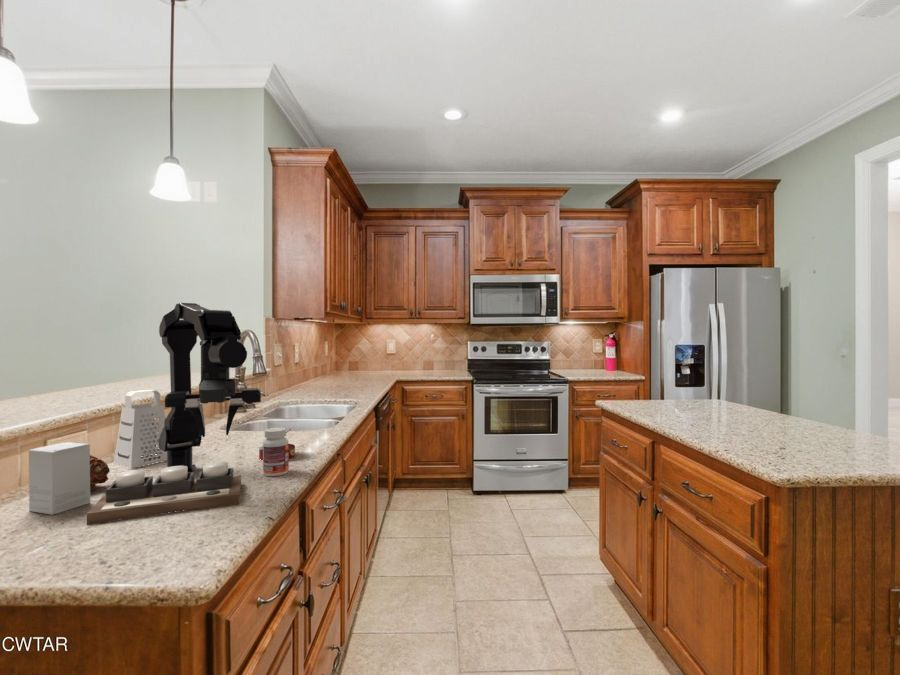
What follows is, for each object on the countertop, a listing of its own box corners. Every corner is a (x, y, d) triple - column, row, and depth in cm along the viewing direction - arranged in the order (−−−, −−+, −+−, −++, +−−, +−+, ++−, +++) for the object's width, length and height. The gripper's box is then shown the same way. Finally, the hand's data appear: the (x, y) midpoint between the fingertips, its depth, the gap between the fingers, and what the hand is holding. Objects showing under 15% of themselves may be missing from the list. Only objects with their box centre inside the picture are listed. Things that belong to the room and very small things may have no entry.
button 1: (119, 482, 97) (119, 471, 97) (147, 479, 99) (146, 468, 99) (112, 489, 93) (112, 478, 93) (141, 486, 95) (141, 475, 95)
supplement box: (91, 503, 97) (91, 443, 97) (51, 516, 90) (51, 451, 90) (68, 499, 99) (68, 441, 99) (27, 511, 92) (27, 449, 92)
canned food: (279, 478, 129) (266, 451, 124) (257, 468, 134) (244, 442, 130) (308, 452, 137) (298, 425, 133) (286, 444, 142) (275, 418, 138)
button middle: (163, 478, 100) (163, 467, 100) (189, 475, 102) (189, 464, 102) (158, 484, 96) (158, 473, 96) (185, 481, 98) (185, 470, 98)
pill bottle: (291, 474, 117) (291, 430, 117) (265, 478, 113) (265, 432, 113) (285, 468, 122) (285, 426, 122) (260, 472, 118) (260, 428, 118)
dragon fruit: (112, 495, 106) (51, 508, 103) (121, 466, 112) (64, 477, 109) (97, 472, 101) (32, 485, 98) (107, 443, 107) (46, 454, 104)
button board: (108, 499, 99) (108, 479, 99) (240, 484, 109) (240, 465, 109) (86, 524, 86) (86, 500, 86) (238, 503, 96) (238, 482, 96)
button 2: (204, 473, 104) (204, 463, 104) (228, 471, 106) (228, 460, 106) (201, 480, 99) (201, 468, 99) (227, 477, 101) (227, 466, 101)
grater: (172, 460, 131) (172, 390, 131) (131, 469, 122) (130, 394, 122) (154, 455, 136) (153, 388, 136) (113, 463, 127) (113, 391, 127)
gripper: (159, 369, 91) (160, 447, 91) (260, 366, 98) (261, 439, 99) (169, 366, 101) (169, 436, 101) (260, 364, 109) (260, 429, 109)
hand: (215, 435), depth 102 cm, fingers open, 4 cm apart
